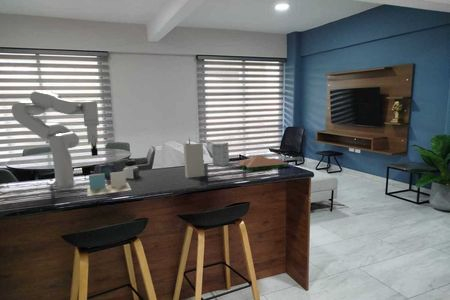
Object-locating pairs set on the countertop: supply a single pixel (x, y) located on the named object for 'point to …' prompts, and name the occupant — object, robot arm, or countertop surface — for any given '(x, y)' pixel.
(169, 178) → the countertop surface
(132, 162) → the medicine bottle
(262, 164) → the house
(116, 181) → the beige square tile
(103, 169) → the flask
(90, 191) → the board
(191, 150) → the beige box with antenna
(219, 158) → the supplement box
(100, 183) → the teal square slab
